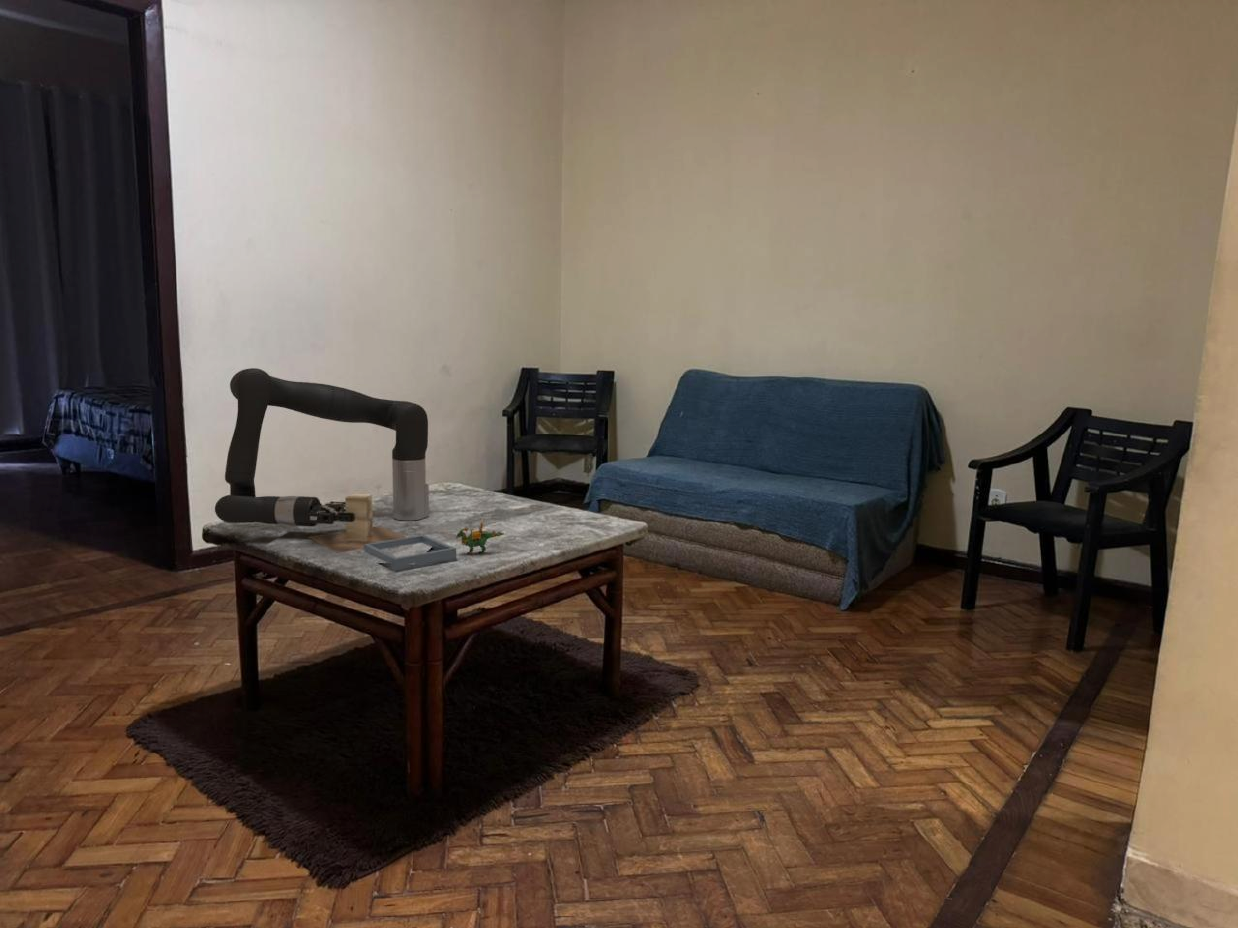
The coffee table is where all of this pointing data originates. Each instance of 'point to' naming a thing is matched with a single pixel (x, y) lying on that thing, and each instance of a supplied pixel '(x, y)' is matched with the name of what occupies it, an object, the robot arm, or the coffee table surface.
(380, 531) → the walnut board
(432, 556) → the box
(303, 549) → the coffee table surface
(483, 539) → the figurine
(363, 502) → the maple block
